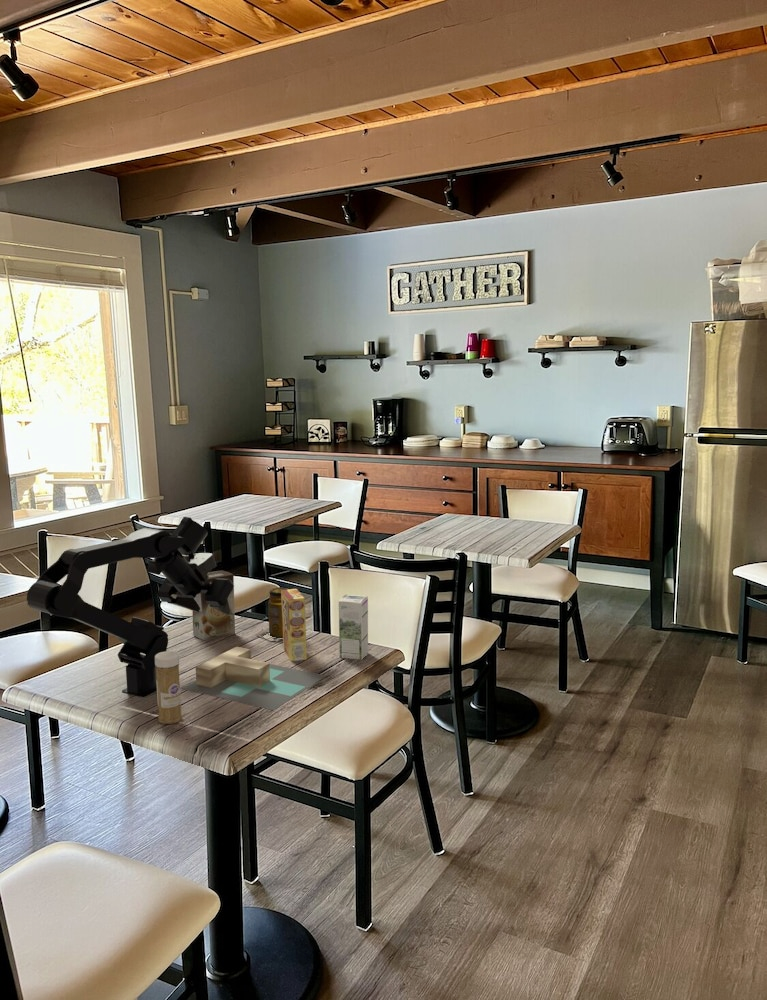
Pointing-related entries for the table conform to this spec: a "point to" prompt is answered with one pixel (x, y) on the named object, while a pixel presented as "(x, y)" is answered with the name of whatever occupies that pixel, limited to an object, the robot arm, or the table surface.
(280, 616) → the condiment
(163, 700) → the sprinkles bottle
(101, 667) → the table surface
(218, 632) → the coffee box
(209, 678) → the t block
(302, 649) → the candy box
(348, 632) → the syrup box
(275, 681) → the push mat
